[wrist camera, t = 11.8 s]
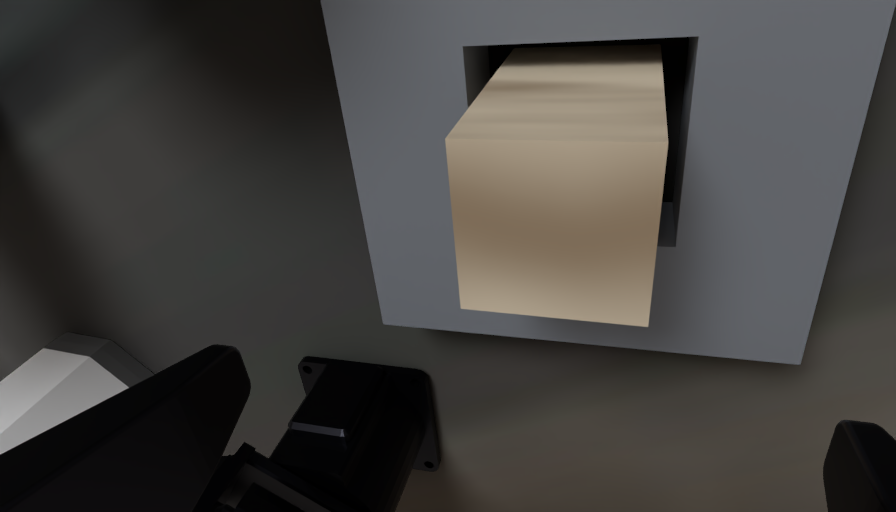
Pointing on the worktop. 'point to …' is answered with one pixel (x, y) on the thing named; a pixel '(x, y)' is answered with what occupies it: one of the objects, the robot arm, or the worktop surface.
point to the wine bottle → (63, 385)
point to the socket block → (697, 168)
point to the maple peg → (562, 184)
